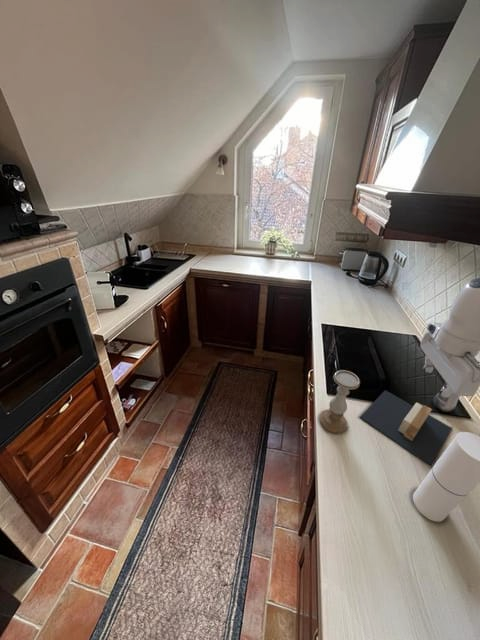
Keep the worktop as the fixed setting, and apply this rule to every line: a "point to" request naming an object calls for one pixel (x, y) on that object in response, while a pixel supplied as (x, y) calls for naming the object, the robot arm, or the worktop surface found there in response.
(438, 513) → the cylindrical container
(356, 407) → the worktop surface
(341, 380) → the candle holder
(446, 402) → the plastic bottle
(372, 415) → the mat
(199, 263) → the worktop surface
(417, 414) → the wooden block
